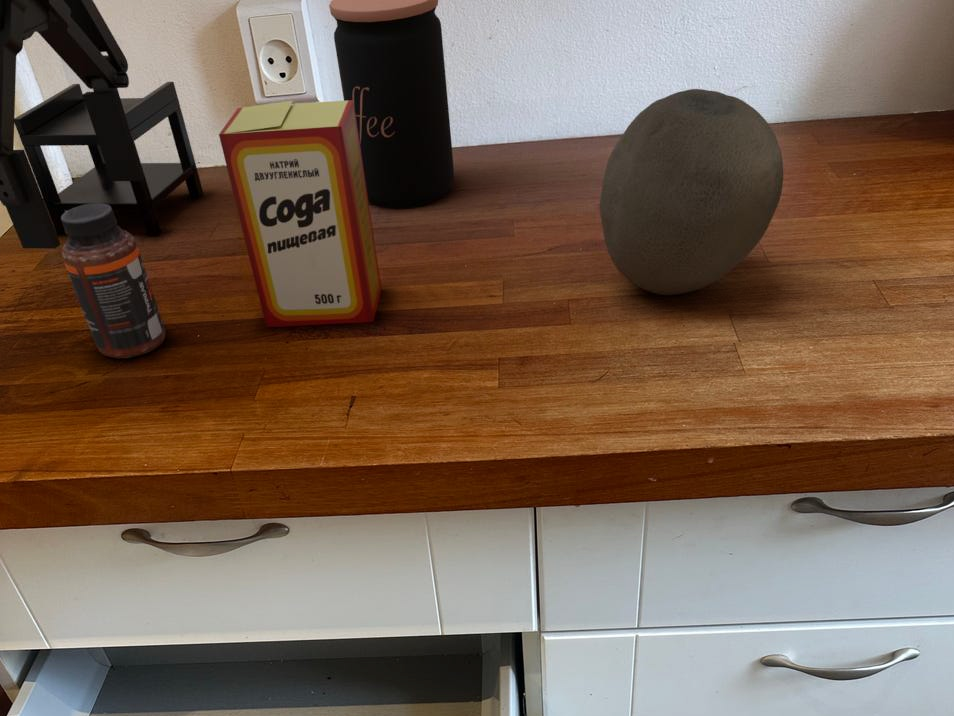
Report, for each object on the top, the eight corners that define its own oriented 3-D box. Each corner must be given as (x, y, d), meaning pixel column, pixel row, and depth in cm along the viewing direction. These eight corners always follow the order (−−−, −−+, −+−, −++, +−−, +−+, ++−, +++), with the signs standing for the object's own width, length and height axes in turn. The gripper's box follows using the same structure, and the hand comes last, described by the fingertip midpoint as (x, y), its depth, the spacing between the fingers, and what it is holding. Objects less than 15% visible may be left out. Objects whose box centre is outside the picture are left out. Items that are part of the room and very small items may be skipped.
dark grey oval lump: (668, 340, 76) (682, 138, 66) (568, 281, 85) (566, 95, 75) (799, 290, 81) (833, 94, 70) (691, 239, 90) (706, 59, 79)
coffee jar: (344, 188, 106) (313, -2, 93) (430, 166, 109) (411, -21, 96) (381, 218, 99) (352, 17, 86) (472, 193, 102) (457, -4, 89)
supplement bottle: (181, 341, 82) (138, 207, 74) (121, 369, 79) (71, 232, 72) (144, 322, 85) (100, 192, 78) (86, 348, 83) (33, 216, 75)
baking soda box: (381, 288, 87) (352, 95, 76) (372, 321, 82) (340, 120, 71) (280, 294, 88) (236, 103, 76) (266, 327, 83) (217, 129, 72)
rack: (57, 235, 102) (12, 119, 94) (110, 193, 111) (73, 83, 103) (157, 236, 100) (120, 117, 92) (204, 194, 108) (173, 81, 100)
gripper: (-114, -110, 50) (46, 280, 65) (110, -164, 67) (197, 155, 82) (-230, -100, 52) (-48, 279, 67) (18, -155, 69) (119, 156, 84)
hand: (87, 211), depth 74 cm, fingers open, 13 cm apart
